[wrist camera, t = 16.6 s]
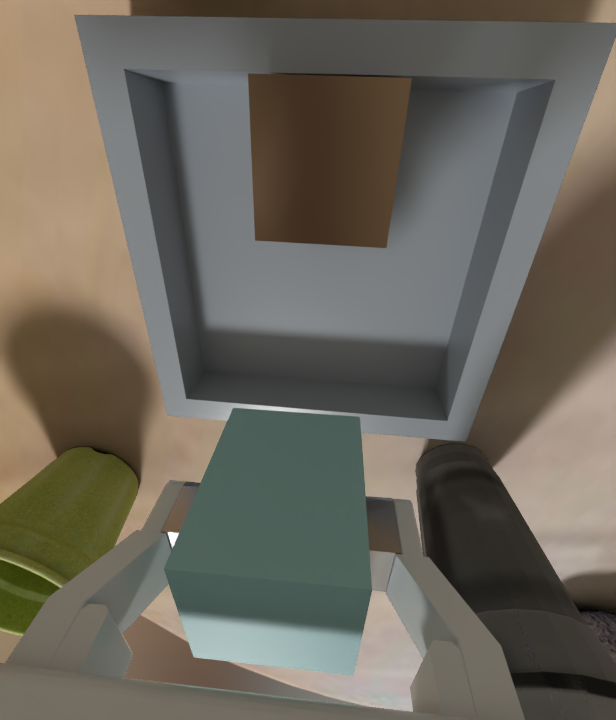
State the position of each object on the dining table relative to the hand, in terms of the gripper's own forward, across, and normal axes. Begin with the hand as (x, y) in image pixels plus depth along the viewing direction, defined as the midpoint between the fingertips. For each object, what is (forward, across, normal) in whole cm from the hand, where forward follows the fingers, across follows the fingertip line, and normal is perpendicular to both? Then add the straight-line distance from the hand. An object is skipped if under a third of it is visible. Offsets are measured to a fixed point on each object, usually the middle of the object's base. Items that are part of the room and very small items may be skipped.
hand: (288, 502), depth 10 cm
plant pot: (+10, +16, +12) cm, 22 cm away
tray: (+10, 0, -5) cm, 11 cm away
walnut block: (+9, -1, -9) cm, 13 cm away
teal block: (+2, 0, 0) cm, 2 cm away
